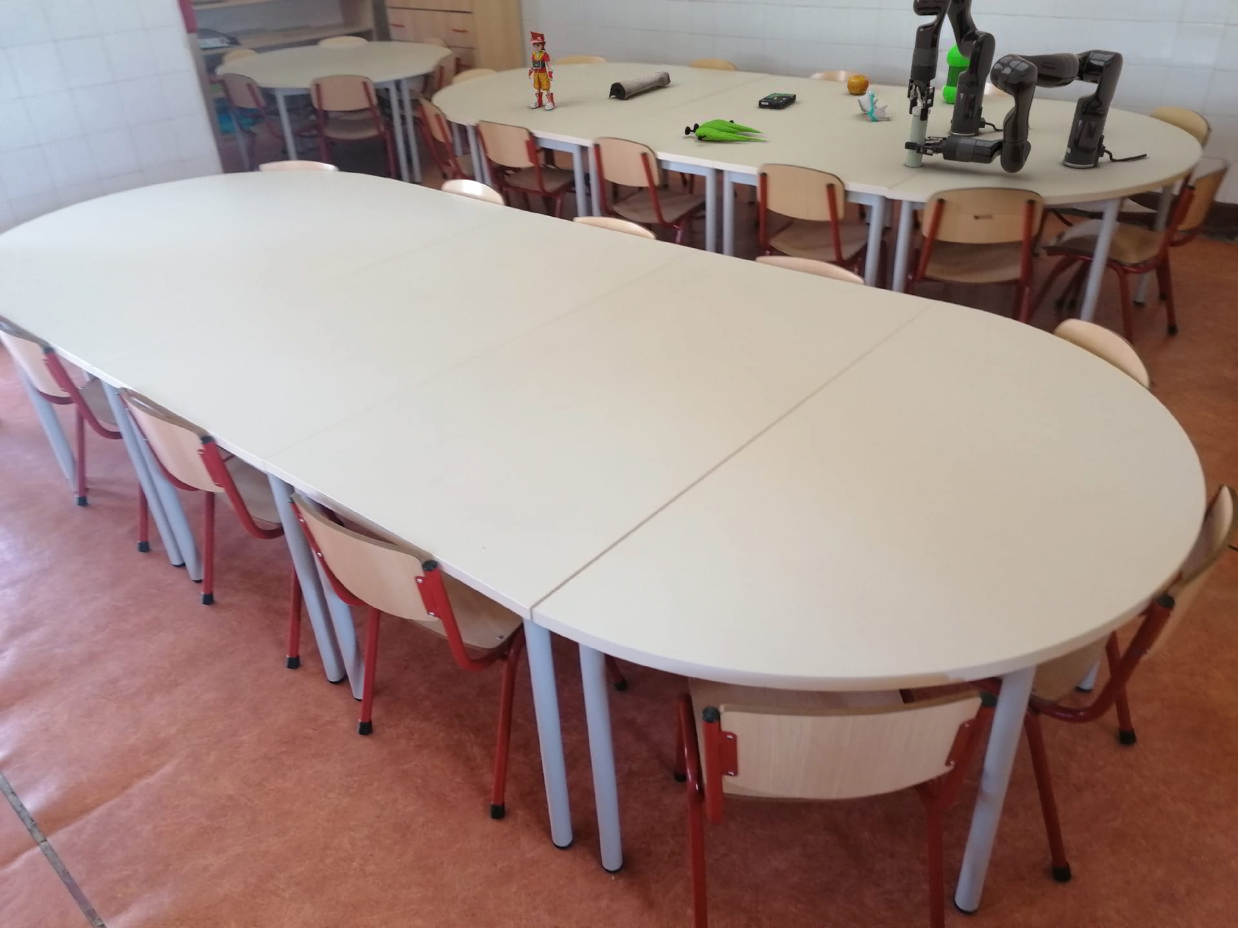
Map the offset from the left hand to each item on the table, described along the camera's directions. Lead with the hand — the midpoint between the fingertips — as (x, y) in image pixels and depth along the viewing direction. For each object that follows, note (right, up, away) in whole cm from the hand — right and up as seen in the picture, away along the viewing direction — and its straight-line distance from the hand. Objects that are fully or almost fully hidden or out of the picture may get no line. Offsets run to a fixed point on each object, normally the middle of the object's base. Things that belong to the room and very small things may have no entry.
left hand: (917, 117), depth 284 cm
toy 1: (-128, +42, +99) cm, 167 cm away
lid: (0, +2, -2) cm, 3 cm away
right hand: (-1, -6, +5) cm, 8 cm away
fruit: (+5, +45, +90) cm, 101 cm away
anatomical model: (+2, +23, +59) cm, 63 cm away
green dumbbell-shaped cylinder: (+38, +33, +71) cm, 87 cm away
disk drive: (-30, +37, +82) cm, 95 cm away
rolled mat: (-85, +55, +113) cm, 152 cm away
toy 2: (-55, +10, +46) cm, 72 cm away
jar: (+1, -12, +8) cm, 15 cm away
